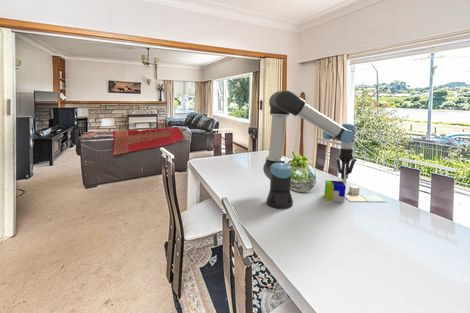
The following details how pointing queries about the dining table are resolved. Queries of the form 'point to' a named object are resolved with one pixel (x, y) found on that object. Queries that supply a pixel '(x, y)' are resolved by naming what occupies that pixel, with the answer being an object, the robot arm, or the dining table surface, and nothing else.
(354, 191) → the die
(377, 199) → the board
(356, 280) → the dining table surface
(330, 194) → the puzzle toy
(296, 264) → the dining table surface
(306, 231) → the dining table surface
